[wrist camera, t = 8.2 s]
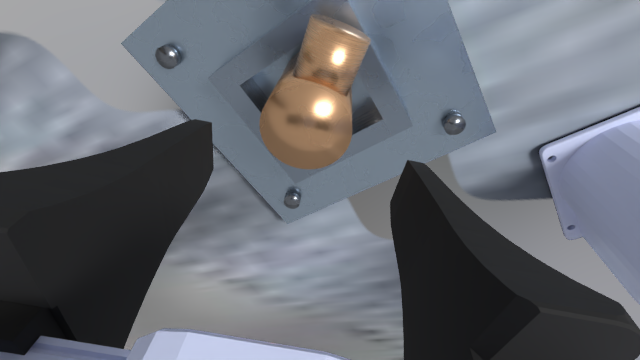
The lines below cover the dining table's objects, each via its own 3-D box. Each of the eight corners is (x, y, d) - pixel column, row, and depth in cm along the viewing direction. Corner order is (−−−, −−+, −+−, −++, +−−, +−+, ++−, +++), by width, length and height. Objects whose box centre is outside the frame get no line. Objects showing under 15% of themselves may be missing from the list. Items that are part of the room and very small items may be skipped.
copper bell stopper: (336, 124, 20) (332, 180, 15) (275, 101, 19) (250, 152, 15) (378, 26, 16) (390, 58, 12) (306, -5, 16) (286, 15, 11)
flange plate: (490, 124, 20) (509, 148, 18) (289, 215, 26) (283, 242, 24) (373, -185, 13) (378, -216, 10) (130, 39, 19) (98, 52, 16)
